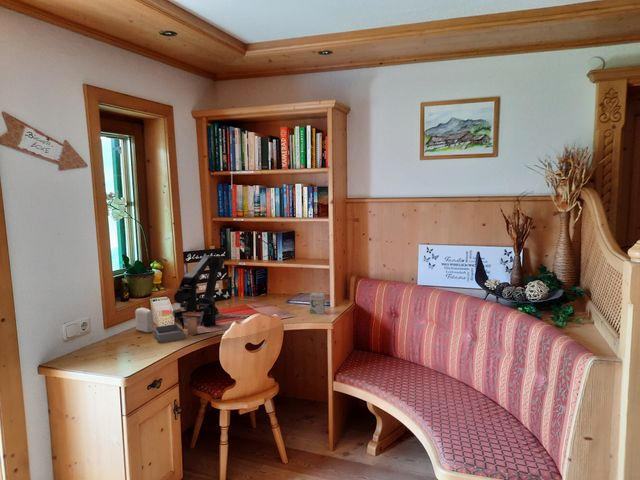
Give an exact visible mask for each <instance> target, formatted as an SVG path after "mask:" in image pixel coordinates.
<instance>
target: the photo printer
mask: <svg viewBox="0 0 640 480" xmlns="http://www.w3.org/2000/svg"><path fill="white" fill-rule="evenodd" d="M134 311H135V313H134V314H135V315H134V316H135V329H136V331H140V332H144V333H152V332H154V330H153V327H154V322H153V321H154V319H153V311H152V310H150V309H149V308H145V307H138V308H137V309H135V310H134Z"/></svg>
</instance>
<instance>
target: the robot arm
mask: <svg viewBox="0 0 640 480" xmlns="http://www.w3.org/2000/svg"><path fill="white" fill-rule="evenodd" d="M224 263H225V259H224V257H223V256H222V255H211V254H210V255H209V254H204V255H203V256H202V258H201V259H200V260H199V262H198V263H196V265H195V267H194V268H193V269H192V270H191V271H188V272H186V273H185V274H184V275H183V277H182V278H181V281H180V284H179V287H178V289H177V290H176V292H175V293H174V295H173V299H174V300H173V301H175V303H176V304H179V307H180V309H173V310H172V312H171V314H172V317H173V318H175V319H176V320H179V323H180V325H181V329H182V330H185V321H184V317H183V315H189V314H190V315H191V314H197V313H198V314H199V315H200V320H199V325H200V327H202V326H204V327H212V326H213V327H214V326H217V325H218V324H217V323H216V316H217V315H218V314H219V309H218V307H216V301H215V297H214V296H215V291H216V286H217V280H218V276H219V272H220V271H221V270H222V269H223V266H224ZM207 268H208V269H209V271H208V272H209V273H208V276H207V281H206V286H205V291H204V296H202V297H200V298H199V302H198V296H197V295H198V294H197V290H198V289H199V287H200V286H198V283H199V282H200V280H201V279H200V277H201V276H202V274H203V273H204V272H205V271H206V269H207ZM181 309H184V310H181Z"/></svg>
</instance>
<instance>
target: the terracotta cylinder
mask: <svg viewBox="0 0 640 480" xmlns="http://www.w3.org/2000/svg"><path fill="white" fill-rule="evenodd" d="M186 324H187V325H186V326H187V327H186V328H187V331H186V332H187V335H190V336H195V335H197V334H198V318H197V317H196V316H195V317H194V316H193V317H188V318H187V319H186Z"/></svg>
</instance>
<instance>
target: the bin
mask: <svg viewBox="0 0 640 480" xmlns="http://www.w3.org/2000/svg"><path fill="white" fill-rule="evenodd" d="M184 334H185V331H184V329H183V328H182V326H180V325H179V324H178V323H173V324H166V325H158V326H153V336H154V337H155V339H156V341H157V342H158V343H159V344H160V343H167V342H172V341H178V340H184V339H185V335H184Z"/></svg>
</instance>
